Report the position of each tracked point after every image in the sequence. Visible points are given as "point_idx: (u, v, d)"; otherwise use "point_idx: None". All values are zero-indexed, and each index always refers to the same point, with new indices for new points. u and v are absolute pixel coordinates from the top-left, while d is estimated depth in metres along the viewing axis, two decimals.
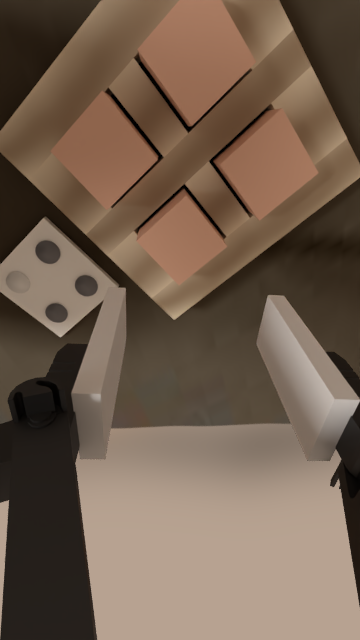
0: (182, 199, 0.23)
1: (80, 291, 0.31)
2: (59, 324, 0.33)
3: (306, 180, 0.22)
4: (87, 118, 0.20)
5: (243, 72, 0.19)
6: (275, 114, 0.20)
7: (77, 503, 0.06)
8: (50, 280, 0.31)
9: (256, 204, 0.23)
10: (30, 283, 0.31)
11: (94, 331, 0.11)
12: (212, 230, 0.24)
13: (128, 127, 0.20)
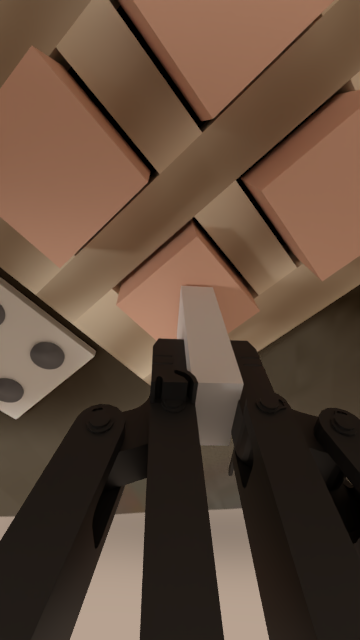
0: (190, 242, 0.14)
1: (39, 363, 0.22)
2: (13, 403, 0.24)
3: None
4: (7, 103, 0.10)
5: (321, 8, 0.09)
6: None
7: (204, 491, 0.06)
8: None
9: (319, 256, 0.13)
10: None
11: (187, 326, 0.11)
12: (237, 288, 0.15)
13: (89, 121, 0.10)
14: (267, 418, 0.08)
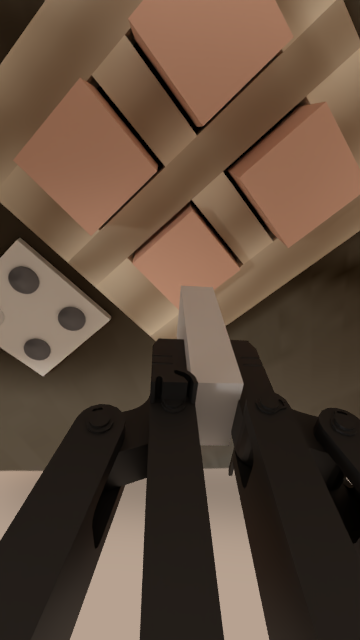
0: (187, 215, 0.19)
1: (64, 325, 0.26)
2: (41, 362, 0.28)
3: (352, 197, 0.17)
4: (61, 116, 0.15)
5: (275, 51, 0.14)
6: (316, 110, 0.15)
7: (204, 491, 0.06)
8: (28, 312, 0.26)
9: (285, 228, 0.18)
10: (4, 316, 0.26)
11: (187, 326, 0.11)
12: (223, 251, 0.20)
13: (116, 128, 0.15)
14: (267, 418, 0.08)
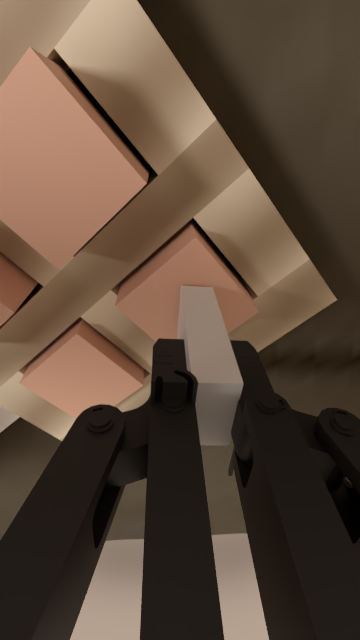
0: (72, 337, 0.17)
1: None
2: None
3: (242, 320, 0.16)
4: None
5: (127, 198, 0.12)
6: (187, 244, 0.14)
7: (204, 491, 0.06)
8: None
9: None
10: None
11: (187, 326, 0.11)
12: (120, 369, 0.18)
13: None
14: (267, 418, 0.08)
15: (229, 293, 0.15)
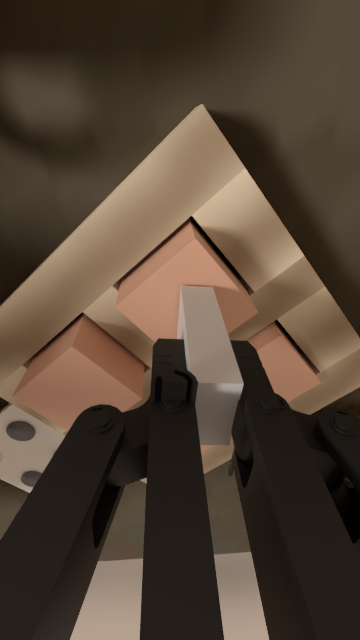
0: None
1: None
2: None
3: (307, 388, 0.20)
4: (55, 369, 0.16)
5: (243, 321, 0.16)
6: (273, 339, 0.18)
7: (204, 491, 0.06)
8: (25, 453, 0.27)
9: None
10: (2, 456, 0.27)
11: (187, 326, 0.11)
12: None
13: (105, 374, 0.17)
14: (267, 418, 0.08)
15: (300, 371, 0.20)
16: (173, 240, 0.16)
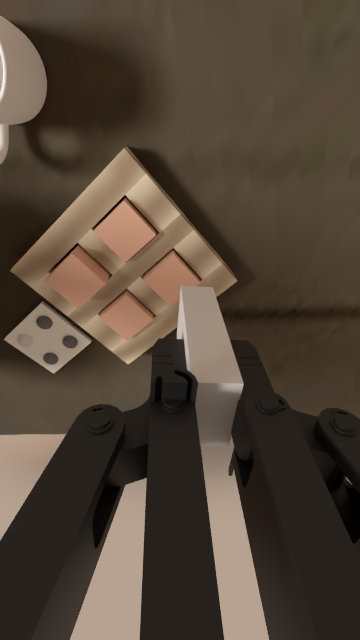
0: (124, 296, 0.40)
1: (66, 345, 0.47)
2: (53, 365, 0.49)
3: None
4: (64, 266, 0.36)
5: (149, 239, 0.36)
6: (170, 256, 0.38)
7: (204, 491, 0.06)
8: (46, 338, 0.47)
9: (167, 298, 0.40)
10: (33, 340, 0.47)
11: (187, 326, 0.11)
12: (143, 311, 0.41)
13: (87, 269, 0.36)
14: (267, 418, 0.08)
15: (187, 275, 0.39)
16: (119, 204, 0.36)
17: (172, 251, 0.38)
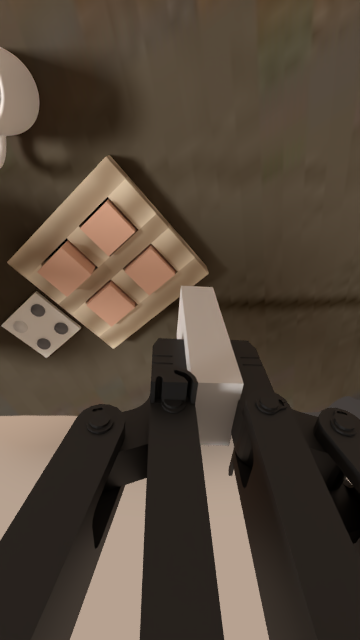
0: (108, 286, 0.45)
1: (57, 331, 0.52)
2: (45, 350, 0.54)
3: (169, 277, 0.45)
4: (54, 258, 0.41)
5: (129, 235, 0.41)
6: (148, 251, 0.43)
7: (204, 491, 0.06)
8: (39, 325, 0.52)
9: (146, 288, 0.46)
10: (27, 327, 0.52)
11: (187, 326, 0.11)
12: (125, 300, 0.46)
13: (75, 261, 0.41)
14: (267, 418, 0.08)
15: (163, 267, 0.44)
16: None
17: (150, 246, 0.44)
